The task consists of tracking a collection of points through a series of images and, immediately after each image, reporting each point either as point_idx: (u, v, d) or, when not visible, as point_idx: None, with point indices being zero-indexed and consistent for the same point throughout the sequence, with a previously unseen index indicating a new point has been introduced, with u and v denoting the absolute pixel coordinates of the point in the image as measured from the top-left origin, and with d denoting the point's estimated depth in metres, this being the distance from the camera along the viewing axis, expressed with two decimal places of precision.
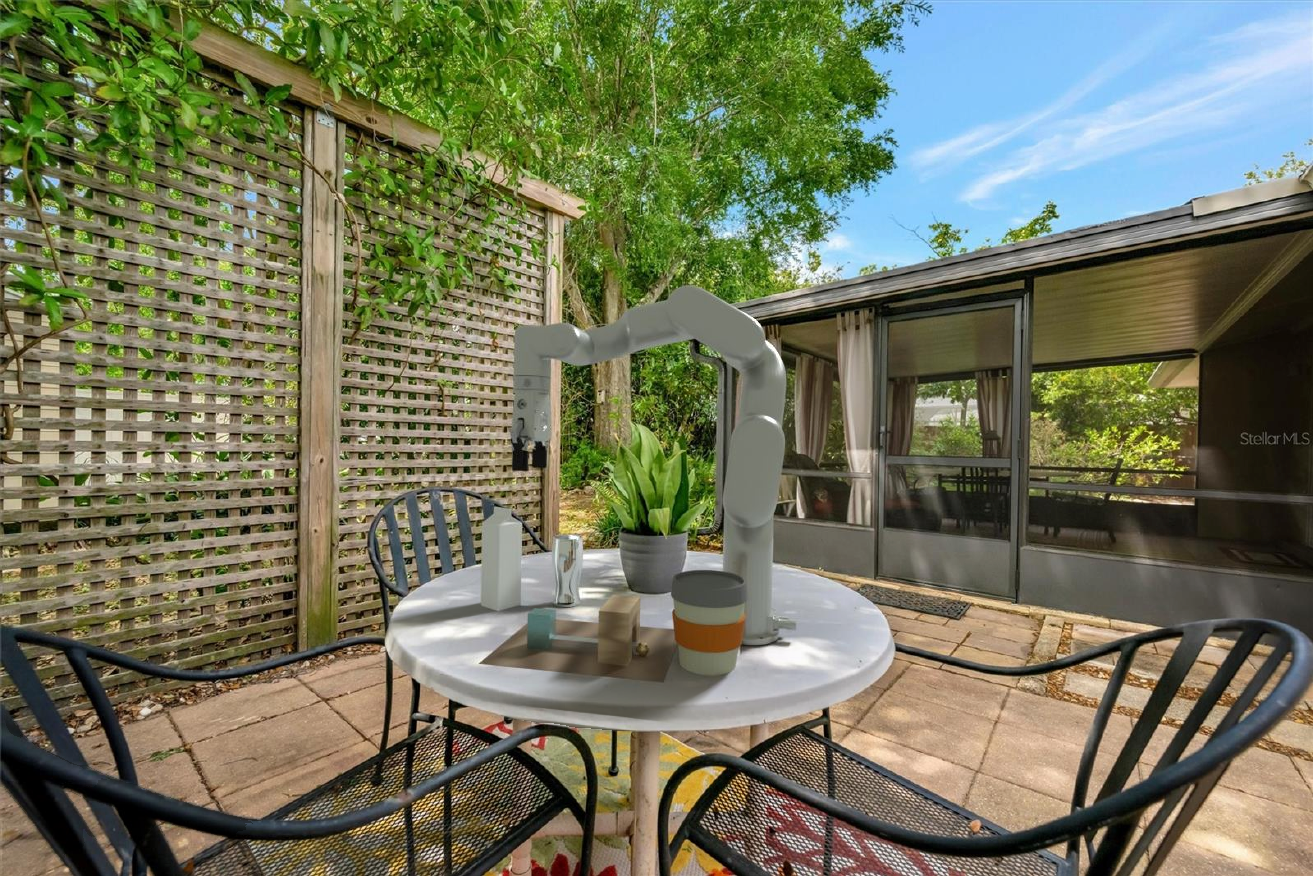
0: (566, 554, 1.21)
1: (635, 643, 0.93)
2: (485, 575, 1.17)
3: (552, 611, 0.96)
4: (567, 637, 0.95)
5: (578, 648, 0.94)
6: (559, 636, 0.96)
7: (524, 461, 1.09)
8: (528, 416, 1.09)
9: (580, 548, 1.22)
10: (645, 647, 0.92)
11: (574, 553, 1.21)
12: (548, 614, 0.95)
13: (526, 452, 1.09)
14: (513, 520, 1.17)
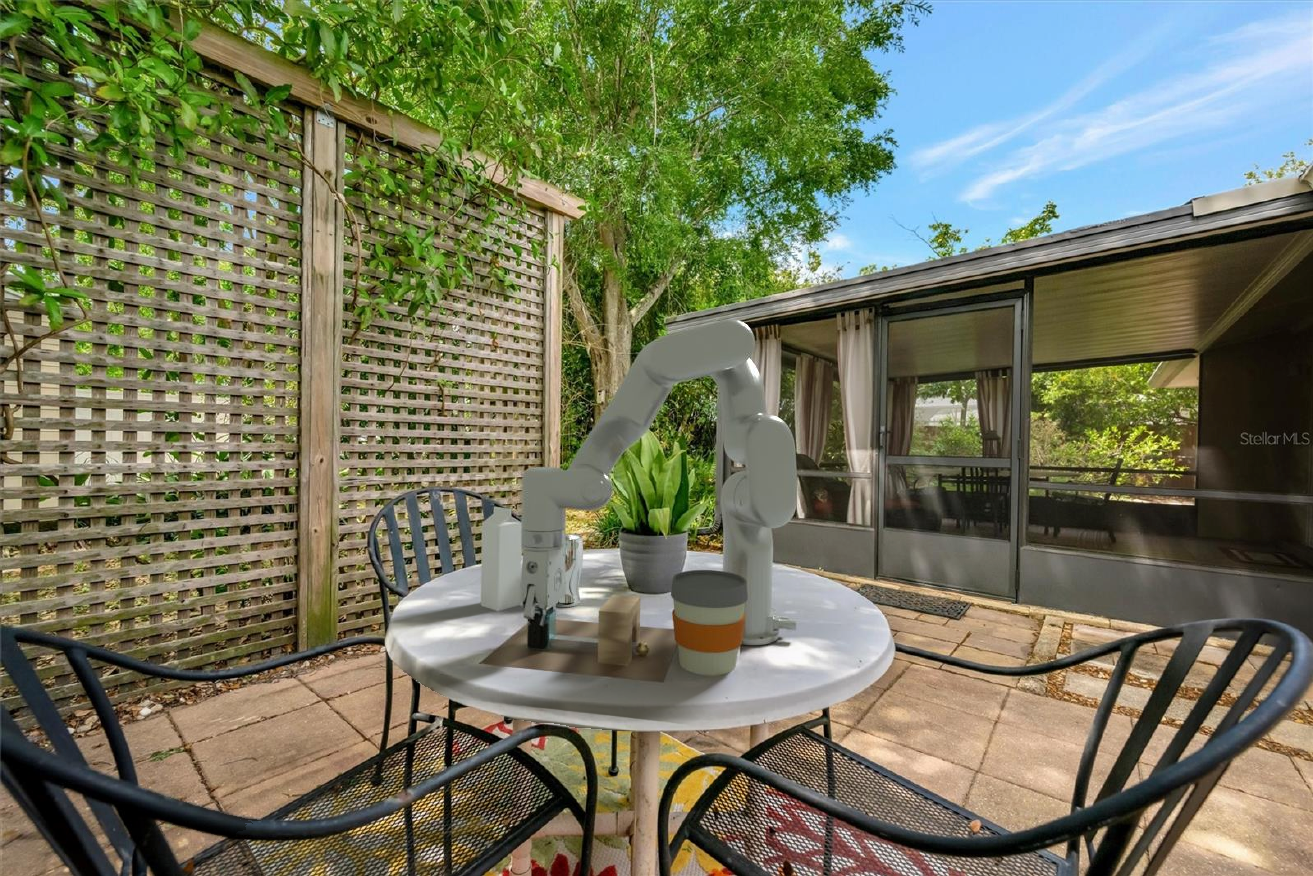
0: (566, 554, 1.21)
1: (635, 643, 0.93)
2: (485, 575, 1.17)
3: (552, 611, 0.96)
4: (567, 637, 0.95)
5: (578, 648, 0.94)
6: (559, 636, 0.96)
7: (542, 638, 0.94)
8: (540, 583, 0.91)
9: (580, 548, 1.22)
10: (645, 647, 0.92)
11: (574, 553, 1.21)
12: (548, 614, 0.95)
13: (544, 627, 0.94)
14: (513, 520, 1.17)
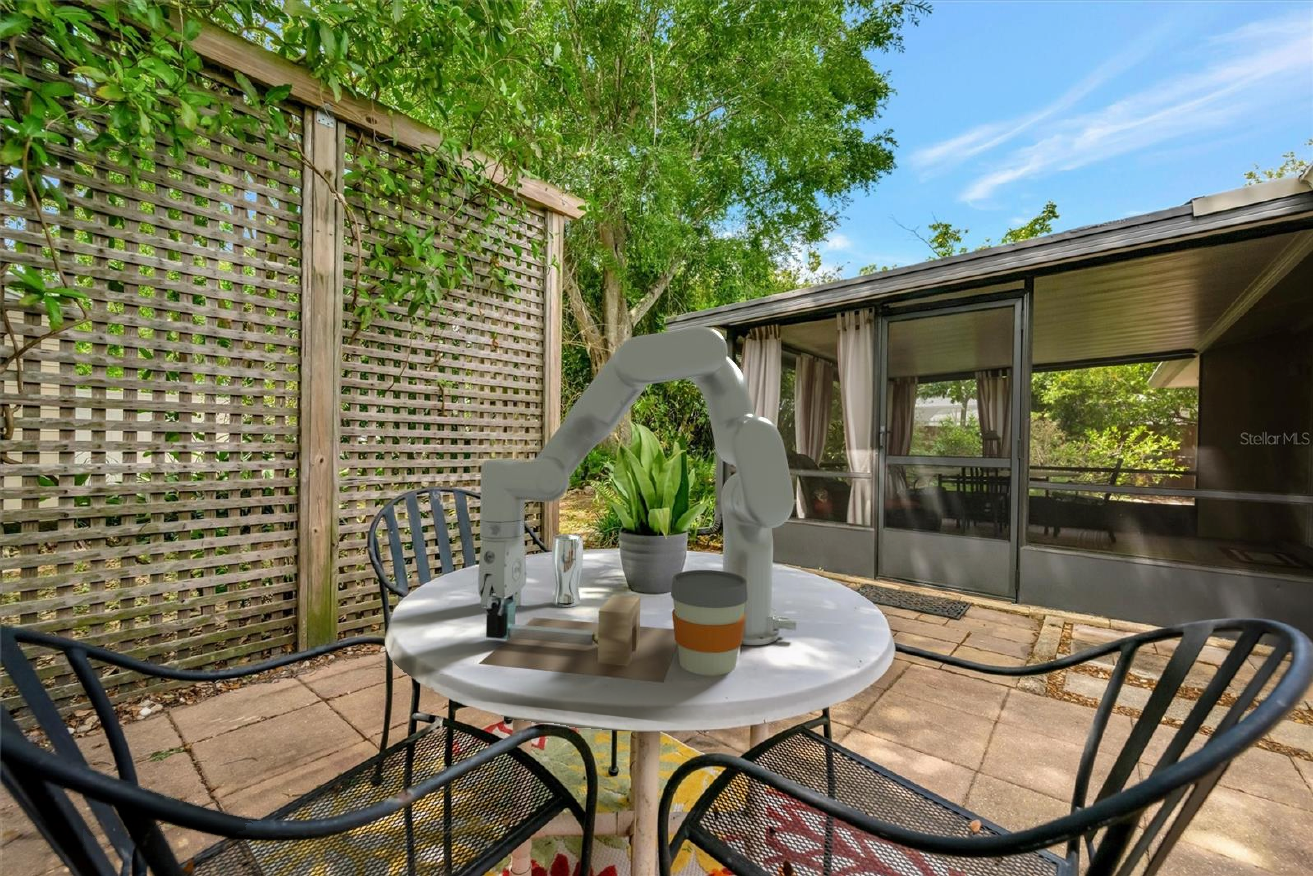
0: (566, 554, 1.21)
1: (592, 632, 0.95)
2: None
3: (511, 601, 0.97)
4: (526, 626, 0.97)
5: (536, 637, 0.95)
6: (518, 625, 0.97)
7: (500, 627, 0.95)
8: (497, 572, 0.92)
9: (580, 548, 1.22)
10: None
11: (574, 553, 1.21)
12: (507, 604, 0.96)
13: (503, 617, 0.95)
14: None
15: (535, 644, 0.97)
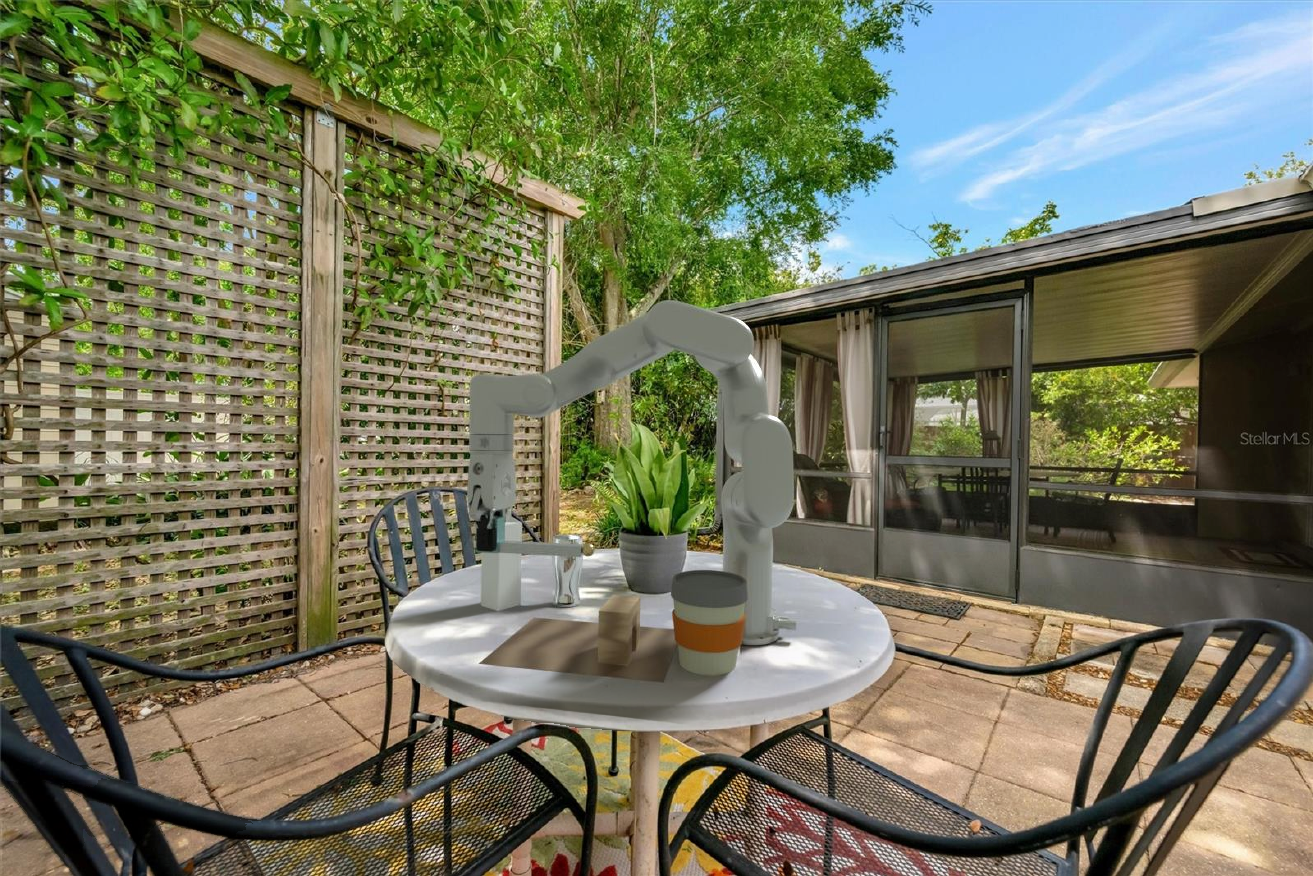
0: None
1: (581, 545, 0.95)
2: (485, 575, 1.17)
3: (501, 517, 0.98)
4: (515, 541, 0.97)
5: (525, 551, 0.95)
6: (508, 541, 0.97)
7: (490, 540, 0.95)
8: (485, 483, 0.92)
9: None
10: (590, 547, 0.94)
11: None
12: (496, 518, 0.96)
13: (492, 530, 0.95)
14: (513, 520, 1.17)
15: (535, 644, 0.97)
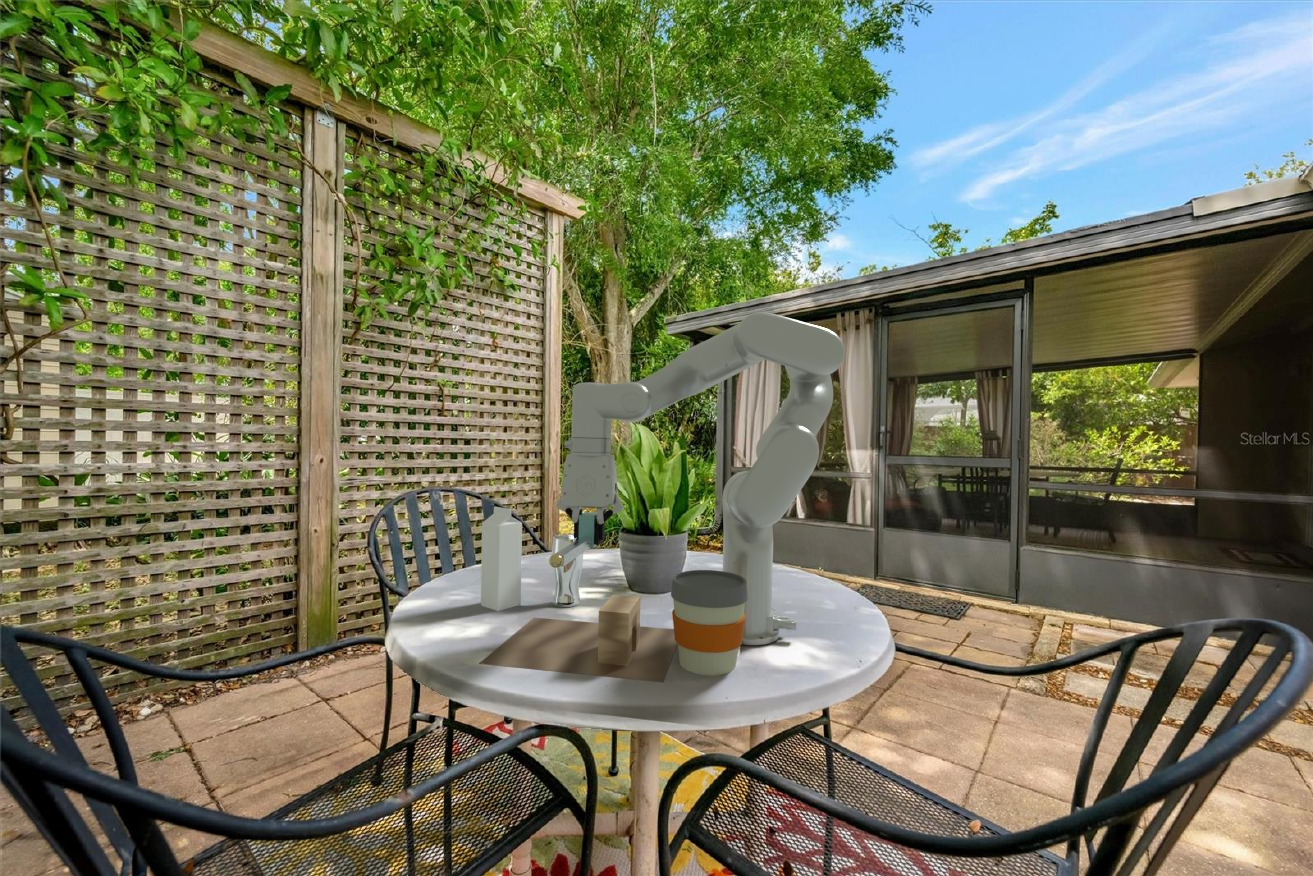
0: None
1: (560, 554, 0.89)
2: (485, 575, 1.17)
3: (590, 515, 1.04)
4: (583, 540, 1.01)
5: None
6: (586, 538, 1.03)
7: None
8: None
9: None
10: (551, 557, 0.88)
11: None
12: (581, 514, 1.04)
13: None
14: (513, 520, 1.17)
15: (535, 644, 0.97)
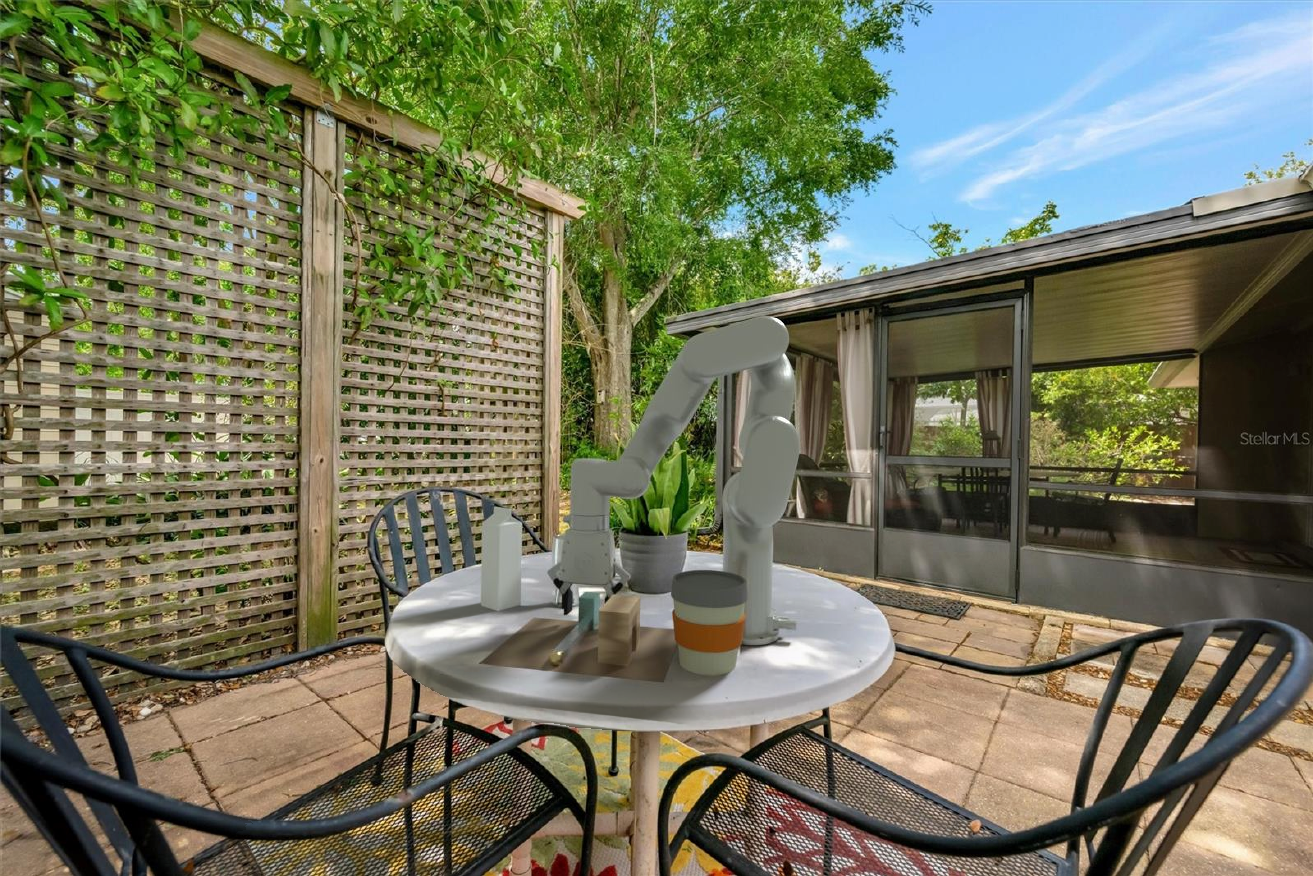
0: None
1: (560, 650, 0.90)
2: (485, 575, 1.17)
3: (589, 598, 1.04)
4: (583, 625, 1.01)
5: None
6: (586, 622, 1.03)
7: None
8: None
9: None
10: (550, 655, 0.88)
11: None
12: (581, 597, 1.05)
13: None
14: (513, 520, 1.17)
15: (535, 644, 0.97)
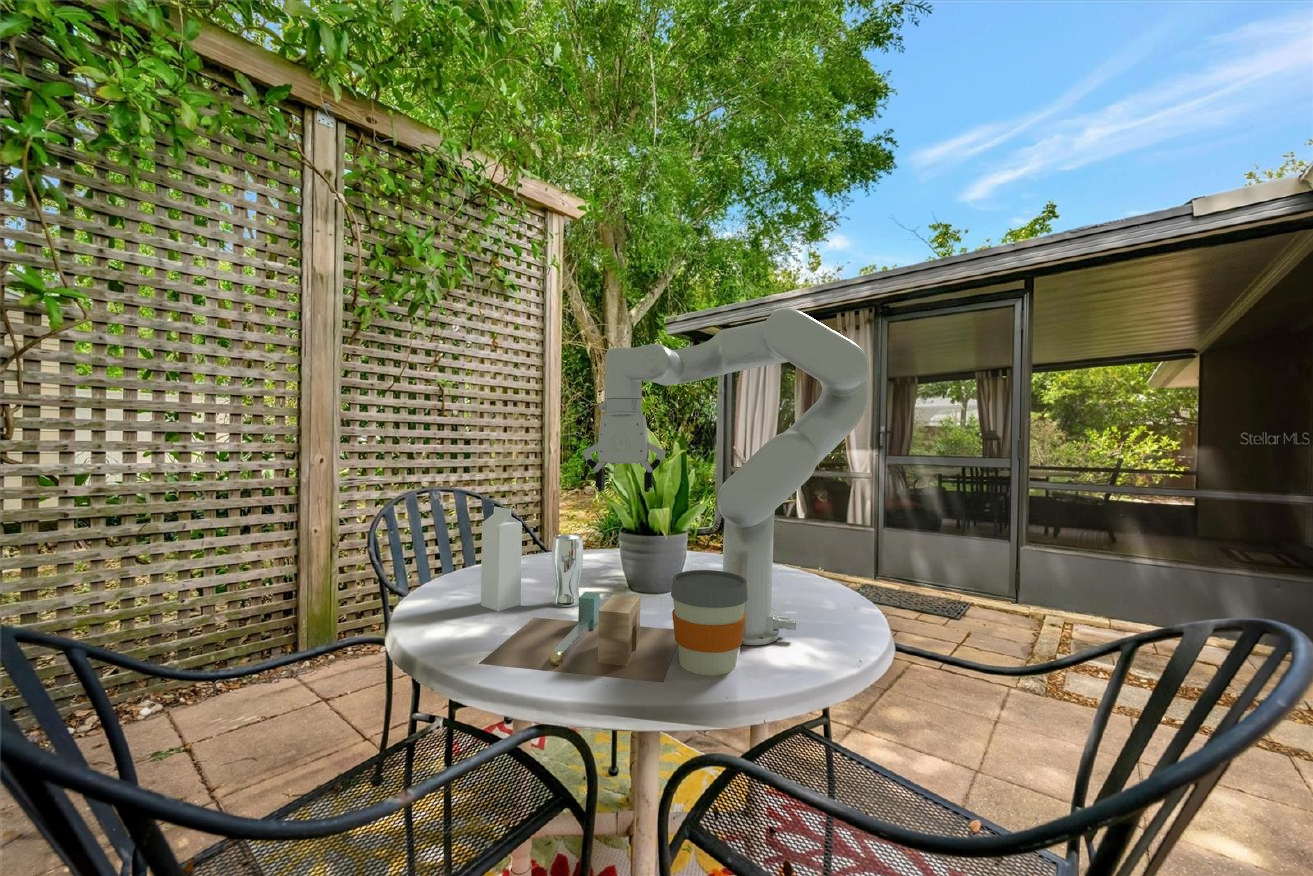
0: (566, 554, 1.21)
1: (560, 650, 0.90)
2: (485, 575, 1.17)
3: (589, 598, 1.04)
4: (583, 625, 1.01)
5: None
6: (586, 622, 1.03)
7: None
8: None
9: (580, 548, 1.22)
10: (550, 655, 0.88)
11: (574, 553, 1.21)
12: (581, 597, 1.05)
13: None
14: (513, 520, 1.17)
15: (535, 644, 0.97)
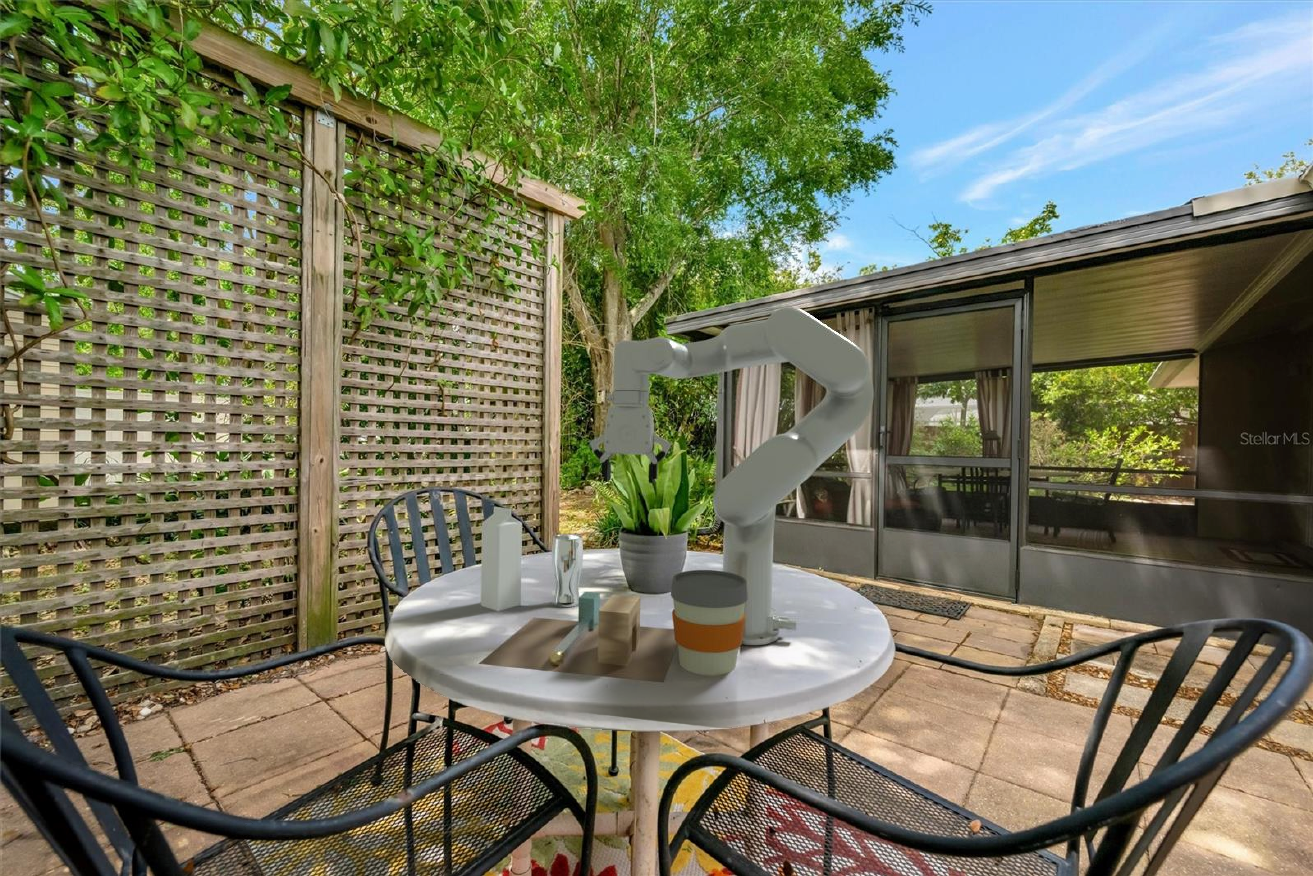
0: (566, 555, 1.20)
1: (560, 650, 0.90)
2: (485, 575, 1.17)
3: (589, 598, 1.04)
4: (583, 625, 1.01)
5: None
6: (586, 622, 1.03)
7: None
8: (605, 430, 1.15)
9: (580, 548, 1.22)
10: (550, 655, 0.88)
11: (574, 553, 1.21)
12: (581, 597, 1.05)
13: None
14: (513, 520, 1.17)
15: (535, 644, 0.97)
